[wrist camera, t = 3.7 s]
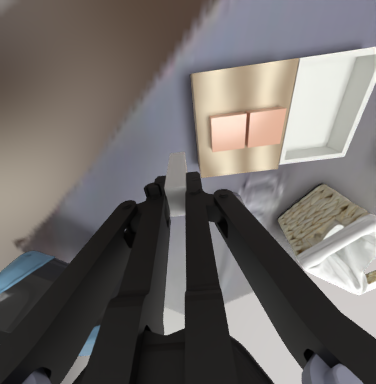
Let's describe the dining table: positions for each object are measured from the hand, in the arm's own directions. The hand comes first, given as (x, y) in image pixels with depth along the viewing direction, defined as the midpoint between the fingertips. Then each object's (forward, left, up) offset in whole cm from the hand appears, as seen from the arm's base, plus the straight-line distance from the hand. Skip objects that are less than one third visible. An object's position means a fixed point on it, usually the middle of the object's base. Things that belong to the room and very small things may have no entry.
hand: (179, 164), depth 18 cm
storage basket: (+35, -29, -17) cm, 49 cm away
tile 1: (+13, 0, -11) cm, 17 cm away
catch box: (+24, 0, -17) cm, 29 cm away
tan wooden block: (+10, 0, -17) cm, 20 cm away
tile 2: (+7, 0, -11) cm, 13 cm away
